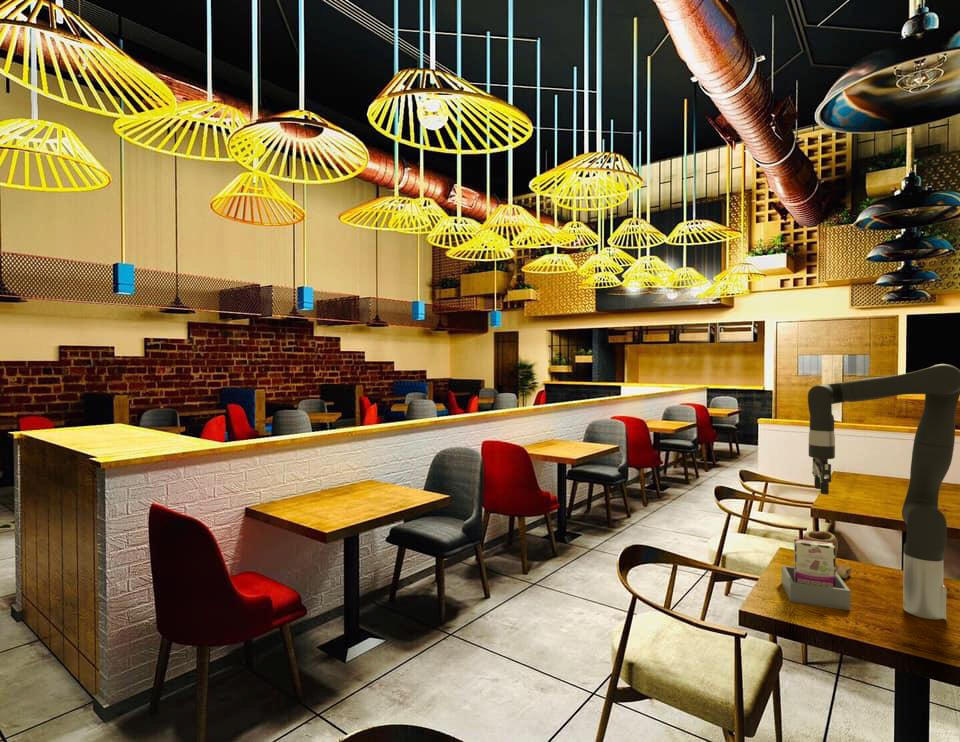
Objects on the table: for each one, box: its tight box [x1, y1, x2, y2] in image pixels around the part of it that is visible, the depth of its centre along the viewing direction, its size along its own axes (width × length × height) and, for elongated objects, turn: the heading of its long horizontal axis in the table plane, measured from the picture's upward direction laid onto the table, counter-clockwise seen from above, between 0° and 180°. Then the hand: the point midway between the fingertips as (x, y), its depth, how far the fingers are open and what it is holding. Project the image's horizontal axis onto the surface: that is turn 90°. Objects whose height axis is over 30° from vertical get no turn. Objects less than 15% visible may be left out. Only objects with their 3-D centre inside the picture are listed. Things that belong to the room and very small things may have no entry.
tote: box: [781, 565, 851, 611], centre depth 172 cm, size 16×16×6 cm
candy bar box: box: [793, 538, 836, 588], centre depth 172 cm, size 11×5×16 cm, turn 64°
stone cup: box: [802, 530, 853, 579], centre depth 190 cm, size 15×12×15 cm
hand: (821, 491), depth 180 cm, fingers open, 8 cm apart
